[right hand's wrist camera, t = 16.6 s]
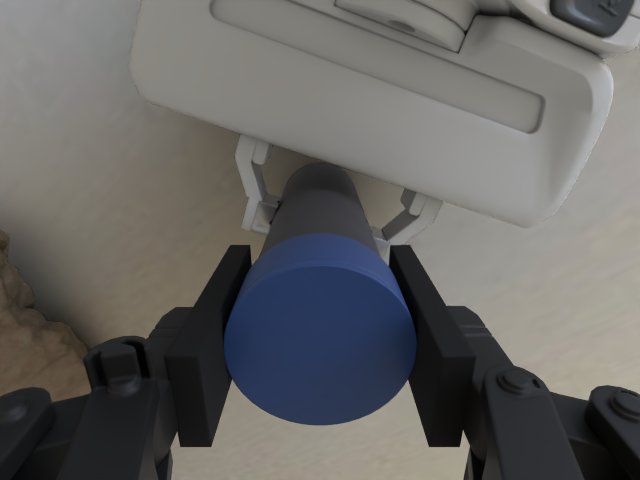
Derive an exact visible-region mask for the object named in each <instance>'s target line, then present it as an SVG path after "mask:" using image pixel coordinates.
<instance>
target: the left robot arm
mask: <svg viewBox="0 0 640 480" xmlns="http://www.w3.org/2000/svg"><path fill="white" fill-rule="evenodd" d="M639 42H640V0H142V2H141V5H140V9H139V13H138V17H137V21H136V26H135V30H134V34H133V40H132V45H131V50H130V55H129V62H128V69H129V73H130V76H131V78H132V80H133V82H134V84H135V86H136V88H137V90H138V92H139V94H140V96H141V98H142V99H143V100H145V101H146V102H148V103H151V104H154V105H157V106H160V107H163V108H166V109H169V110H172V111H175V112H178V113H181V114H184V115H187V116H190V117H193V118H196V119H199V120H202V121H205V122H208V123H211V124H214V125H217V126H220V127H223V128H226V129H229V130H232V131H235V132H238V133H240V137H239V141H238V145H237V149H236V153H235V160H236V164H237V167H238V170H239V174H240V177H241V180H242V184H243V187H244V190H245V194H246V197H249V199H248V203H247V206H246V210H245V214H244V218H243V221H242V227H241V228H242V229H245V230H248V231H253V232H256V233H260V234H263V235H268V232H269V229H270V227H271V224H272V221H273V219H274V217H275V214H276V212H277V209H278V206H279V203H280V199H281V198H280V197H277V196H274V195H271V194H268V193H267V192H266V188H265V183H264V179H263V175H262V171H261V167H260V165H263V164H264V163H265V162H266V161H267V160H268V158H269V157H270V154H271V151H272V147H273V144H274V145H277V146H280V147H283V148H286V149H289V150H292V151H295V152H298V153H301V154H304V155H307V156H310V157H313V158H316V159H319V160H322V161H325V162H328V163H331V164H334V165H337V166H340V167H343V168H346V169H349V170H352V171H355V172H358V173H361V174H364V175H367V176H370V177H373V178H376V179H379V180H382V181H385V182H388V183H391V184H394V185H397V186H400V187H403V188H405V189H404V192H403V194H402V197H401V199H400V201H401V203H402V204H403V205H404V207H405V208H406V209H405V210H404V211H402V212H401V213H400V214H399V215H398V216H397V217H395V218H394V219H393V220H392V221H391V222H389V223H388V224H387V225H386V226H385V227H383V228H382V230H381V229H378V228H375V227H371V226H369V227H370V229H371V232H372V235H373V237H374V240H375V242H376V245H377V248H378V250H379V253H380V256H381V258H382V259H383V260H384V261H385V262H386V264H387V265H388V266H389V253H390V245H402V244H404V243H405V242H407V241H408V240H409V239H411V238H412V237H413V236H415V235H416V234H418V233H419V232H420V231H422V230H423V229H425V228H426V227H427V226H429V225H430V224H431V223H433V222H434V219H435V217H436V215H437V213H438V211H439V209H440V207H441V205H442V202H443V201H445V202H448V203H451V204H454V205H457V206H460V207H463V208H466V209H469V210H472V211H475V212H478V213H481V214H484V215H487V216H490V217H493V218H496V219H499V220H502V221H505V222H508V223H511V224H514V225H517V226H520V227H523V228H530V227H533V226H535V225H537V224H538V223H540V222H542V221H544V220H546V219H547V218H549V217H551V216H552V215H553V214H555V213H556V212H557V210H558V209H559V208H560V206H561V205H562V203H563V202H564V200H565V199H566V197H567V196H568V194H569V192H570V190H571V189H572V187H573V185H574V184H575V182H576V180H577V178H578V176H579V174H580V173H581V171H582V169H583V167H584V165H585V163H586V161H587V159H588V157H589V155H590V153H591V151H592V150H593V148H594V146H595V143H596V141H597V139H598V137H599V135H600V133H601V130H602V128H603V126H604V124H605V121H606V119H607V116H608V114H609V111H610V107H611V104H612V99H613V91H614V85H613V78H612V74H611V72H610V70H609V68H608V66H607V65H606V63H605V62H604V61H603V60H602V59H604V58H609V57H613V56H617V55H621V54H625V53H628V52H630V51H631V50H633V49H634V48H635V47H636V46H637V45H638V44H639Z"/></svg>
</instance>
